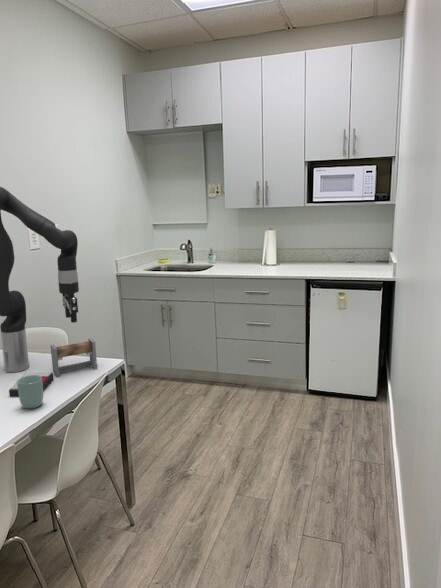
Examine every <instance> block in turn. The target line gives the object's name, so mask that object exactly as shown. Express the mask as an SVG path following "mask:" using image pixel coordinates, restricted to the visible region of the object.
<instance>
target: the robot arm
mask: <svg viewBox="0 0 441 588" xmlns="http://www.w3.org/2000/svg"><path fill="white" fill-rule="evenodd" d="M2 211H4V212H7V213H8V214H11V215H12V216H14V217H15V218H17V219H18V220H19V221H21V223H23V225H24V226H25V227H27V228H28V229H29V230H31V231H32V232H34V233H35V234H37V235H39V236H41V237H43V238H44V239H45V240H46V241H47V242H48V243H49V244H50V245H51V246H53V247H55V248H56V249H59V250H60V254H59V255H58V257H57V261H56V262H57V272H58V273H57V280H58V281H57V284H58V292H59V293H60V294H62V295H61V296H62V307H63V308H64V311H65V318H69V319H70V322H71V323H73V324H75V323H77V322H78V317H77V313H79V306H78V305H79V304H78V298H77V297H76V296H75V294H77V293H78V292H79V291H80V290H79V289H80V288H79V273H78V269H77V268H78V267H77V252H78V247H79V246H78V243H79V242H78V237H77V235H76V233H75V232H74V231H73V230H69V229H67V230H65V229H64V230H61V229H59V228H57V226H56V224H55V222H54V221H52V220H51V219H48V218H47V217H46V216H43V215H42V214H40V213H38V212H37V211H35V210H33V209H32V208H31V207H29V206H27V205H26V204H25V203H23V202H22V201H21V200H20V199H18V198H17V197H16V196H14V195H13V194H12V193H11V192H10V191H9V190H8V189H6V188H4V187H2V186H0V317H5V319H4V320H3V321H2V322H1V324H0V334H1V335H0V336H1V343H2V347H1V348H2V355H3V356H2V357H3V358H2V359H3V365H4V370H5V373H18V372H23V371H26V370H28V369H29V368H30V361H29V351H28V342H27V333H26V323H27V308H26V307H27V305H26V300H25V297H24V295H23V293H22V292H20V291H18V290H10V287H9V283H10V282H9V281H10V277H11V273H12V271H13V268H14V264H15V250H14V244H13V241H12V239H11V237H10V235H9V233H8V232H7V230H6V228H5V227H4V224H3V220H2Z"/></svg>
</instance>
